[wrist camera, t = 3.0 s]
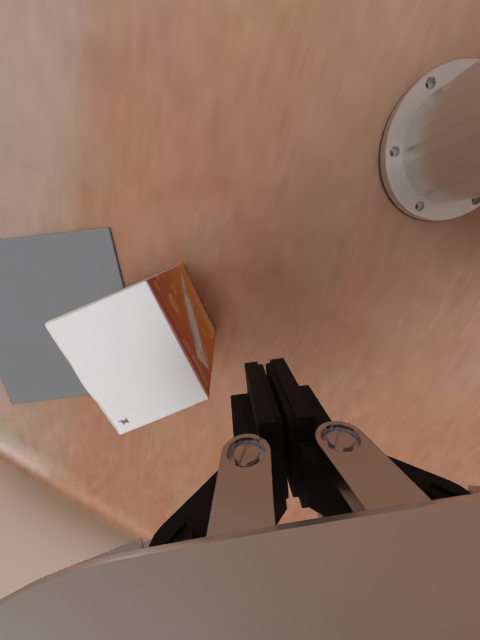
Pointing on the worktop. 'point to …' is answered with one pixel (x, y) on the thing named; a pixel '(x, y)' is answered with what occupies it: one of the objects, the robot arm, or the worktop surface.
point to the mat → (48, 306)
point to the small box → (141, 348)
